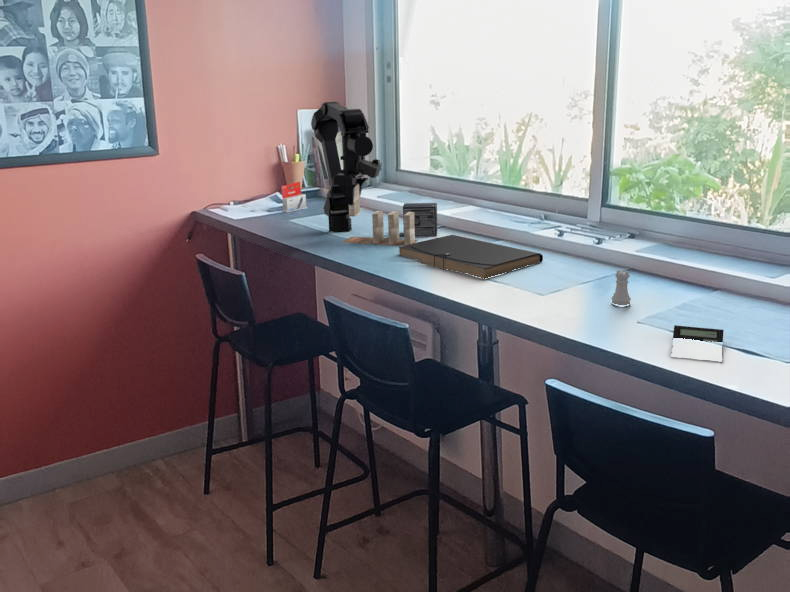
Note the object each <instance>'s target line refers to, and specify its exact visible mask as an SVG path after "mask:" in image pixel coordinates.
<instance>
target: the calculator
mask: <svg viewBox="0 0 790 592" xmlns="http://www.w3.org/2000/svg"><path fill="white" fill-rule="evenodd" d="M672 333H673V335H672V339H673V338H683V339H684V338H685V339H692V340H693V339H694V340H700V341H706V342H707V341H710V342H712V341H713V342H723V343H724V329H719V328H708V327H697V326H695V327H694V326H687V325H674V326H673V332H672Z"/></svg>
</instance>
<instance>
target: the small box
mask: <svg viewBox="0 0 790 592" xmlns="http://www.w3.org/2000/svg"><path fill="white" fill-rule="evenodd" d="M408 212H414V224H415V238H416V237H418V238H422V237H426V238H431V237H432V238H438V203H437V202H412V203H410V202H406V203H404V204H403V206H402V215H403V216H402V218H403V219H402V220H403V225H404V215H405V214H406V213H408Z"/></svg>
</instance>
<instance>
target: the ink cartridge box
mask: <svg viewBox="0 0 790 592" xmlns="http://www.w3.org/2000/svg"><path fill="white" fill-rule="evenodd" d="M280 187H281V197H282V212H283V213H291V212H294V211H295V212H296V211H299V210H301V209H305V208H307V195H306V194H305V193H302V187H301V182H300V181H296V182H293V183H288V184H285V185H281V186H280ZM290 187H293V188H290ZM289 188H290V189H289Z"/></svg>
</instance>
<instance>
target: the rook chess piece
mask: <svg viewBox="0 0 790 592" xmlns="http://www.w3.org/2000/svg"><path fill="white" fill-rule="evenodd" d="M614 276H615V278H616V281H615V283H616V284H615V285H616V286H615V291H614V293H613V295H612V297H611V301H612V303H614V304H618V305H627V304H630V303H631V300H632V299H631V296H630V294H629V289H628V284H629V281H628V280H629V278H630V274H629V271H628V270H624V269H619V270H617V271H616V273H615V275H614ZM612 303H611V304H612ZM630 305H631V304H630Z"/></svg>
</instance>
